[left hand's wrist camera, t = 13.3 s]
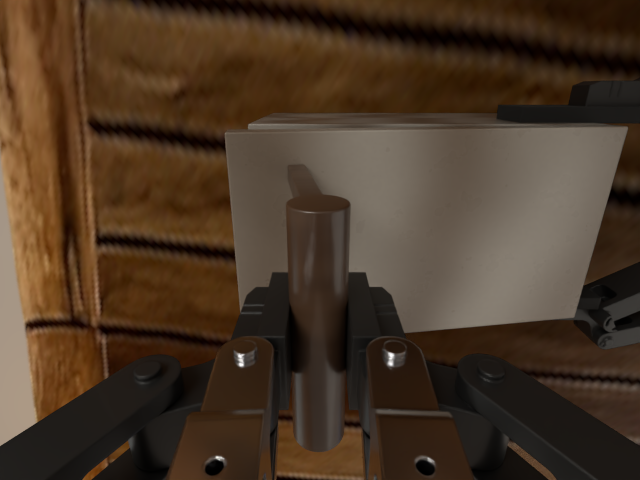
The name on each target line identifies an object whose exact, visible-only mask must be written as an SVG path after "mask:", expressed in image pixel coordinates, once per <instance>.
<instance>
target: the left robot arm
mask: <svg viewBox="0 0 640 480" xmlns="http://www.w3.org/2000/svg"><path fill="white" fill-rule="evenodd" d="M291 376H292V354H291V324H290V303H289V287H288V272H272V275H271V279H270V283H269V287H255V288H254V289H253V290H252V291H251V292H250V293H248V294H247V295H246V298H245V301H244V304H243V307H242V310H241V314H240V315H239V318H238V321H237V324H236V327H235V330H234V332H233V335H232V338H231V340H230V341H228V342H227V343H225V344H224V345H223V346H222V347H221V348H220V349H219V351H218V353H217V355H216V358H215V359H213V360H211V361H209V362H206V363H203V364H199V365H195V366H191V367H186V368H182V369H181V365H180V363H179V361H178V360H177V359H176V358H174V357H172V356H169V355H151V356H147V357H143V358H140V359H138V360H136V361H134V362H132V363H130V364H129V365H127V366H125V367H124V368H122V369H121V370H119V371H118V372H116V373H114V374H113V375H111V376H110V377H108V378H107V379H105V380H103V381H102V382H100V383H99V384H97V385H96V386H94V387H92V388H91V389H89V390H88V391H86V392H85V393H83V394H81V395H80V396H78V397H77V398H75V399H74V400H72V401H70V402H69V403H67V404H66V405H64V406H63V407H61V408H59V409H58V410H56V411H55V412H53V413H52V414H50V415H48V416H47V417H45V418H44V419H42V420H41V421H39V422H37V423H36V424H34V425H33V426H31V427H30V428H28V429H26V430H25V431H23V432H22V433H20V434H19V435H17V436H15V437H14V438H12V439H11V440H9V441H8V442H6V443H4V444H3V445H1V446H0V480H82V479H83V478H84V477H85V475H86V474H87V473H88V472H89V471H91V470H92V469H93V468H94V467H95V466H97V465H98V464H99V463H100V462H102V461H103V460H104V459H105V458H107V457H108V456H109V455H110V454H111V453H113V452H114V451H115V450H116V449H118V448H119V447H120V446H121V445H123V444H124V443H125V442H126V441H128V442H129V446H130V448H129V449H128V450H127V451H126V452H124V453H123V454H122V455H121V456H119V457H118V458H117V459H116V460H115V461H113V462H112V463H111V464H110V465H109V466H107V467H106V468H105V469H104V470H103V471H101V472H100V473H99V474H98V475H97V476H95V477H94V478H93V479H92V480H276V472H277V454H278V436H279V434H278V413H279V410H288V407H289V397H290V387H291ZM346 377H347V389H348V400H349V410H359V418H360V423H361V426H362V434H361V436H362V454H363V472H364V480H548V479H547V478H546V477H545V476H543V475H542V474H541V473H540V472H539V471H537V470H536V469H535V468H534V467H533V466H531V465H530V464H529V463H528V462H527V461H525V460H524V459H523V458H522V457H520V456H519V455H518V454H517V453H516V452H514V451H513V450H512V449H511V448H510V447H508V442H509V438H510V439H511V440H512V441H514V442H515V443H516V444H517V445H519V446H520V447H521V448H522V449H524V450H525V451H526V452H527V453H528V454H530V455H531V456H532V457H533V458H535V459H536V460H537V461H538V462H540V463H541V464H542V465H543V466H545V467H546V468H547V469H548V470H549V471H550V472H551V473H552V474H553V475H554V476H555V478H556V479H557V480H640V446H639V445H637V444H636V443H634V442H632V441H631V440H629V439H628V438H626V437H625V436H623V435H621V434H620V433H618V432H617V431H615V430H614V429H612V428H610V427H609V426H607V425H606V424H604V423H603V422H601V421H599V420H598V419H596V418H595V417H593V416H592V415H590V414H588V413H587V412H585V411H584V410H582V409H581V408H579V407H577V406H576V405H574V404H573V403H571V402H570V401H568V400H566V399H565V398H563V397H562V396H560V395H559V394H557V393H555V392H554V391H552V390H551V389H549V388H548V387H546V386H544V385H543V384H541V383H540V382H538V381H537V380H535V379H533V378H532V377H530V376H529V375H527V374H525V373H524V372H522V371H521V370H519V369H518V368H516V367H514V366H513V365H511V364H510V363H508V362H506V361H505V360H503V359H500V358H498V357H495V356H491V355H487V354H470V355H467V356H465V357H463V358H462V359H461V360H460V361H459V363H458V368H457V369H456V368H452V367H447V366H443V365H438V364H435V363H431V362H429V361H427V360H425V359H424V355H423V353H422V351H421V349H420V348H419V347H418V346H417V345H416V344H415V343H413V342H412V341H410V340H407V339H406V336H405V333H404V330H403V328H402V325H401V322H400V319H399V316H398V314H397V310H396V307H395V304H394V301H393V298H392V295H391V294H390V293H389V292H387V291H386V290H385V289H384V288H383V287H369V283H368V279H367V275H366V272H349V282H348V308H347V341H346Z"/></svg>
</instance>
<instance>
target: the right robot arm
mask: <svg viewBox="0 0 640 480" xmlns="http://www.w3.org/2000/svg"><path fill="white" fill-rule="evenodd" d="M496 119H500V120H506V121H512V122H518V123H640V78H638V79H637V80H634V81H585V82H581V83H578V84H576V85H573V87H572V91H571V95H570V100H569V104H568V105H498V111H497V117H496ZM554 320H574V321H573V322H574V324H575V325H576V326H577V327H578V328H579V329H580V330H581V331H582V332H583V333H584V334H585V335H586V336H587V337H589V338H590V339H591V340H592V341H593V342H594V343H595V344H596V345H597V346H599V347H600V348H601V349H611V348H616V347H621V346H626V345H631V344H635V343H640V262H638V263H636V264H634V265H631V266H629V267H627V268H624V269H622V270H620V271H617V272H615V273H613V274H610V275H608V276H606V277H603V278H601V279H599V280H596V281H594V282H592V283H589V284H587V285H585V286H584V285H583V288H582V292H581V295H580V299H579V302H578V306H577V309H576V313H575V317H574V318H565V319H554Z"/></svg>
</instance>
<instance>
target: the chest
mask: <svg viewBox="0 0 640 480" xmlns="http://www.w3.org/2000/svg"><path fill="white" fill-rule="evenodd" d="M496 117H497V113H273V114H270V115H268V116H266V117H264V118H261V119H259V120H257V121H255V122H252V123H250V124H248V129H319V128H392V127H464V126H537V125H607V124H600V123H518V122H512V121H506V120H500V119H496Z"/></svg>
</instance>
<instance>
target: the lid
mask: <svg viewBox="0 0 640 480" xmlns="http://www.w3.org/2000/svg"><path fill="white" fill-rule="evenodd" d="M627 130H628V127H627V126H617V125H537V126H464V127H392V128H319V129H247V130H227V131H226V132H225V144H226V155H227V166H228V178H229V189H230V200H231V212H232V223H233V234H234V245H235V257H236V268H237V279H238V291H239V302H240V313H241V310H242V307H243V304H244V301H245V298H246V295H247V294H248V293H250V292H251V291H252V290H253V289H254V288H255V287H269V283H270V279H271V275H272V272H288V287H289V303H290V324H291V354H292V404H293V433H294V437H295V439H296V441H297V442H298V443H299V444H300V445H301V446H302V447H303V448H305V449H307V450H309V451H314V452H324V451H328V450H330V449H332V448H334V447H335V446H337V445H338V444H339V442H340V441H341V439H342V437H343V434H344V413H345V380H346V341H347V308H348V282H349V272H366V275H367V279H368V283H369V287H383V288H384V289H385V290H386V291H387V292H389V293H390V294H391V295H392V298H393V301H394V304H395V307H396V310H397V314H398V316H399V319H400V322H401V325H402V328H403V330H404V333H411V332H422V331H433V330H444V329H455V328H466V327H477V326H488V325H499V324H510V323H521V322H532V321H543V320H554V319H565V318H574V317H575V313H576V309H577V306H578V302H579V299H580V295H581V292H582V288H583V285H584V281H585V278H586V274H587V271H588V267H589V264H590V260H591V257H592V253H593V250H594V246H595V243H596V239H597V236H598V232H599V229H600V225H601V222H602V218H603V215H604V211H605V208H606V204H607V201H608V197H609V194H610V190H611V187H612V183H613V180H614V176H615V173H616V169H617V165H618V162H619V158H620V155H621V151H622V148H623V144H624V141H625V137H626V134H627Z"/></svg>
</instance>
